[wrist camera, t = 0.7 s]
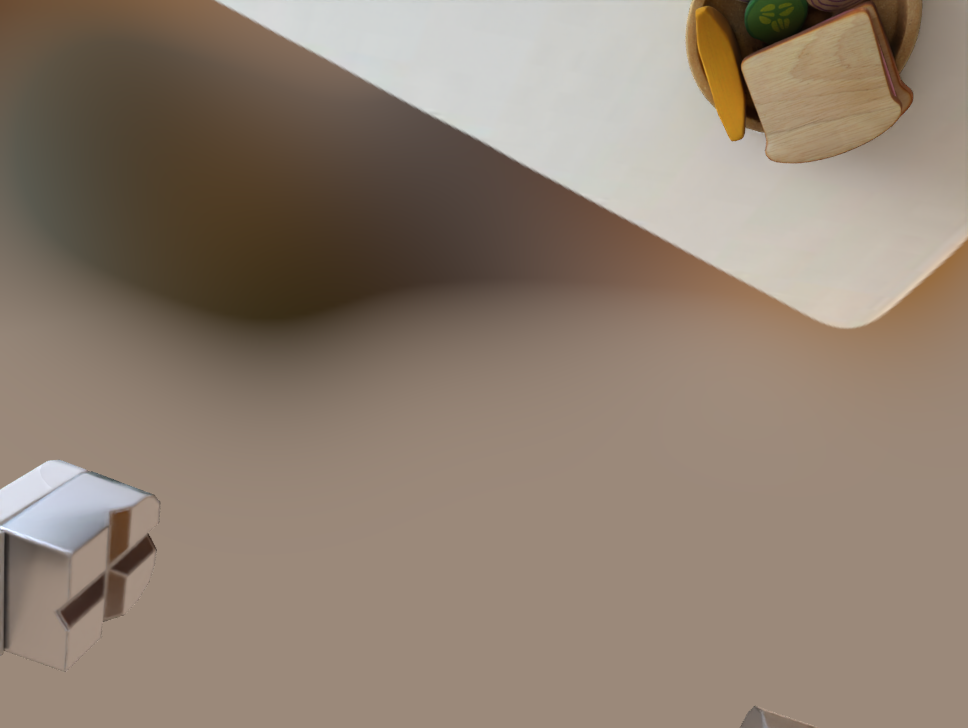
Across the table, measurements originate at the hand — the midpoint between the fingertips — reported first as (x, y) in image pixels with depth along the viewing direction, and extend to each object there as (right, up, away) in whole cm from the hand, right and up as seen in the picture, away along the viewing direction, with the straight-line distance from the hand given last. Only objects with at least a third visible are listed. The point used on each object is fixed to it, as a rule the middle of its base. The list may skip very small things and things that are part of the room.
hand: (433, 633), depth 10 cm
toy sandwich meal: (+20, +23, +36) cm, 47 cm away
